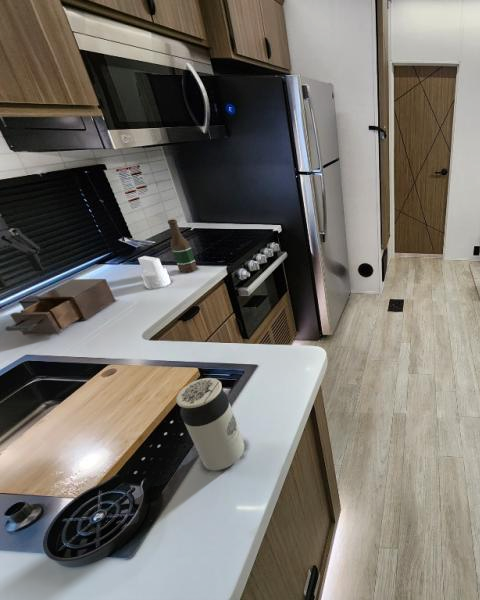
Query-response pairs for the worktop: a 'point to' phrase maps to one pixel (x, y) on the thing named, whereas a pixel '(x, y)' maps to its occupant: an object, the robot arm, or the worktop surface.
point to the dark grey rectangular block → (28, 301)
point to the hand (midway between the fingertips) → (22, 278)
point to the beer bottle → (181, 249)
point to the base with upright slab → (153, 272)
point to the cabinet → (83, 295)
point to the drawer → (45, 317)
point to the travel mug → (211, 423)
